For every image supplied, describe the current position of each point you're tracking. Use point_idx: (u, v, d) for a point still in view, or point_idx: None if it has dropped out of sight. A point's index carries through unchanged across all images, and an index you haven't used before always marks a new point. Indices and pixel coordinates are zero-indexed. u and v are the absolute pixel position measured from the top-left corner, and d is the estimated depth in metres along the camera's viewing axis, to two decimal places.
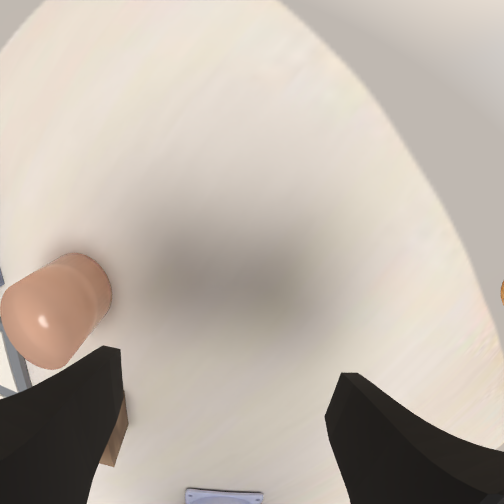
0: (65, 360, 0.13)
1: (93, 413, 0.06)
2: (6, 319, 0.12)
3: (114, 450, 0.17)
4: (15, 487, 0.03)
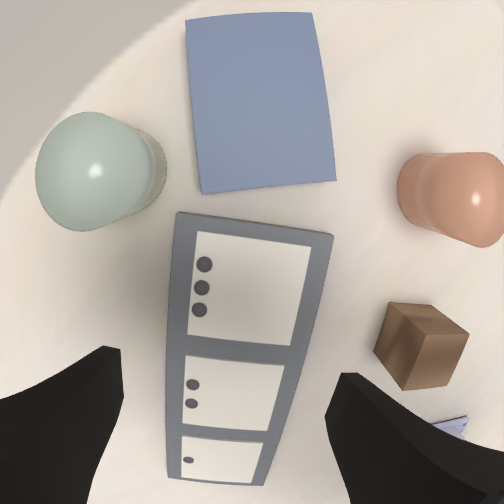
0: (500, 233, 0.13)
1: (94, 413, 0.06)
2: (462, 189, 0.12)
3: None
4: (15, 487, 0.03)
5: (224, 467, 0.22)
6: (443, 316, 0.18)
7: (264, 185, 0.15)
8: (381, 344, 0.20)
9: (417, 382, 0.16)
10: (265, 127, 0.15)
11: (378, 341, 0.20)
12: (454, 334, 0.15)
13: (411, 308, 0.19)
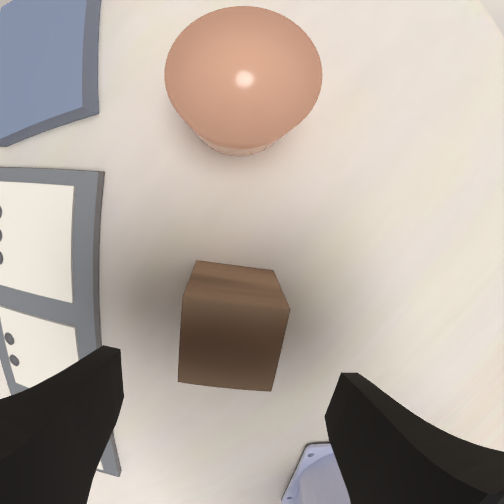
0: (295, 119, 0.09)
1: (94, 413, 0.06)
2: (180, 59, 0.08)
3: None
4: (15, 487, 0.03)
5: None
6: (272, 283, 0.14)
7: (23, 127, 0.12)
8: None
9: (200, 374, 0.12)
10: (29, 74, 0.11)
11: None
12: (250, 304, 0.11)
13: (224, 269, 0.15)
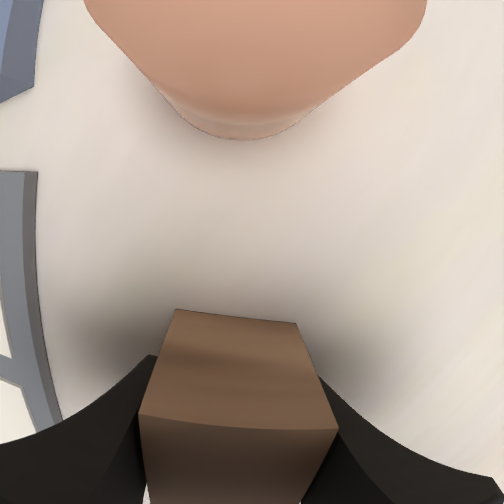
0: (388, 41, 0.03)
1: None
2: None
3: None
4: None
5: None
6: (298, 357, 0.08)
7: None
8: None
9: (184, 501, 0.06)
10: None
11: None
12: (267, 428, 0.05)
13: (219, 328, 0.09)
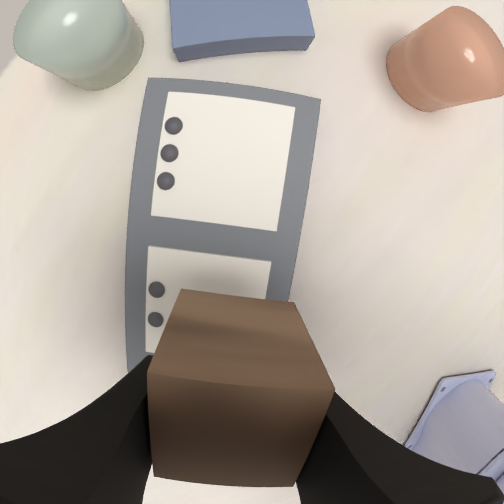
0: None
1: (148, 425, 0.07)
2: (448, 30, 0.09)
3: None
4: None
5: None
6: (296, 329, 0.09)
7: (238, 37, 0.12)
8: None
9: (187, 471, 0.07)
10: None
11: None
12: (267, 386, 0.06)
13: (222, 304, 0.10)
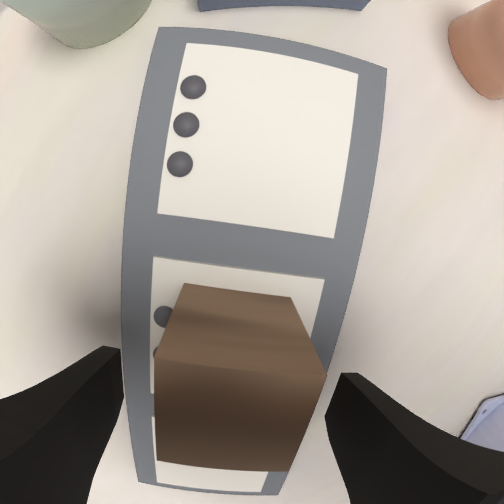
0: None
1: (94, 413, 0.06)
2: None
3: None
4: (15, 487, 0.03)
5: (220, 469, 0.14)
6: (292, 322, 0.10)
7: None
8: None
9: (188, 455, 0.07)
10: None
11: None
12: (264, 371, 0.07)
13: (223, 297, 0.11)
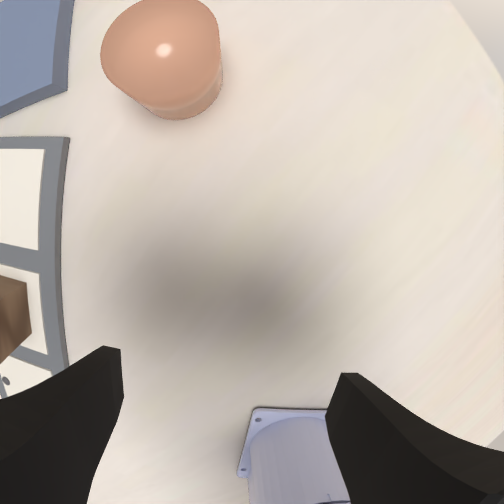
0: (193, 74, 0.10)
1: (94, 413, 0.06)
2: (112, 39, 0.10)
3: None
4: (15, 487, 0.03)
5: None
6: (5, 292, 0.15)
7: (7, 102, 0.13)
8: None
9: None
10: (13, 60, 0.12)
11: None
12: None
13: None
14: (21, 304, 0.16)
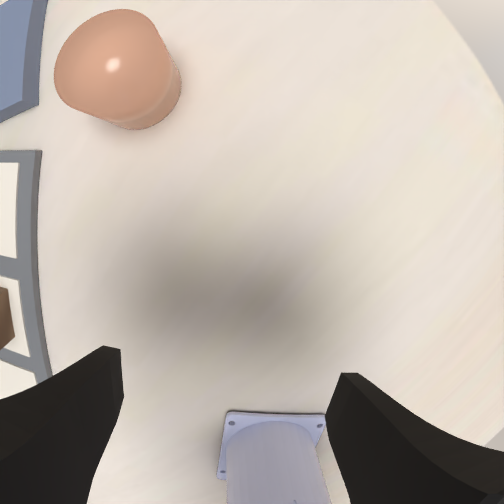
0: (134, 87, 0.10)
1: (93, 412, 0.06)
2: (64, 59, 0.10)
3: None
4: (15, 487, 0.03)
5: None
6: None
7: None
8: None
9: None
10: None
11: None
12: None
13: None
14: (3, 309, 0.16)
